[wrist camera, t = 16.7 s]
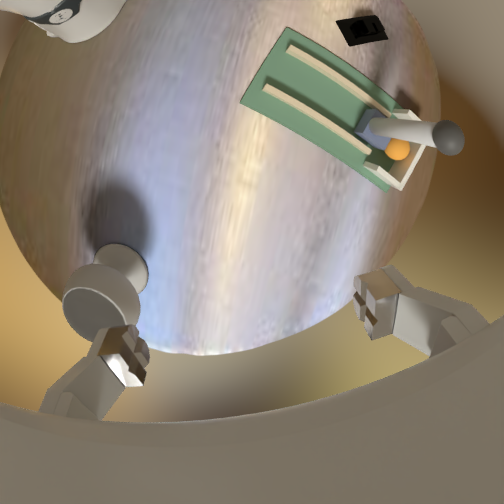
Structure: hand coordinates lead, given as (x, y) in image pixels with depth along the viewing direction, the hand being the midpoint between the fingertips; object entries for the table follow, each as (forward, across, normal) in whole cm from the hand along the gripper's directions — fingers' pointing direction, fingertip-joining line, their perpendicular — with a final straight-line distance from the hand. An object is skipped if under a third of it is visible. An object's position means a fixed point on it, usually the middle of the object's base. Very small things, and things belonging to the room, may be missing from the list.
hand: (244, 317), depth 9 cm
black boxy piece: (+38, -28, -21) cm, 52 cm away
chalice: (+37, +26, +14) cm, 48 cm away
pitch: (+37, -21, -6) cm, 43 cm away
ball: (+34, -29, +1) cm, 45 cm away
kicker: (+36, -25, -2) cm, 44 cm away
